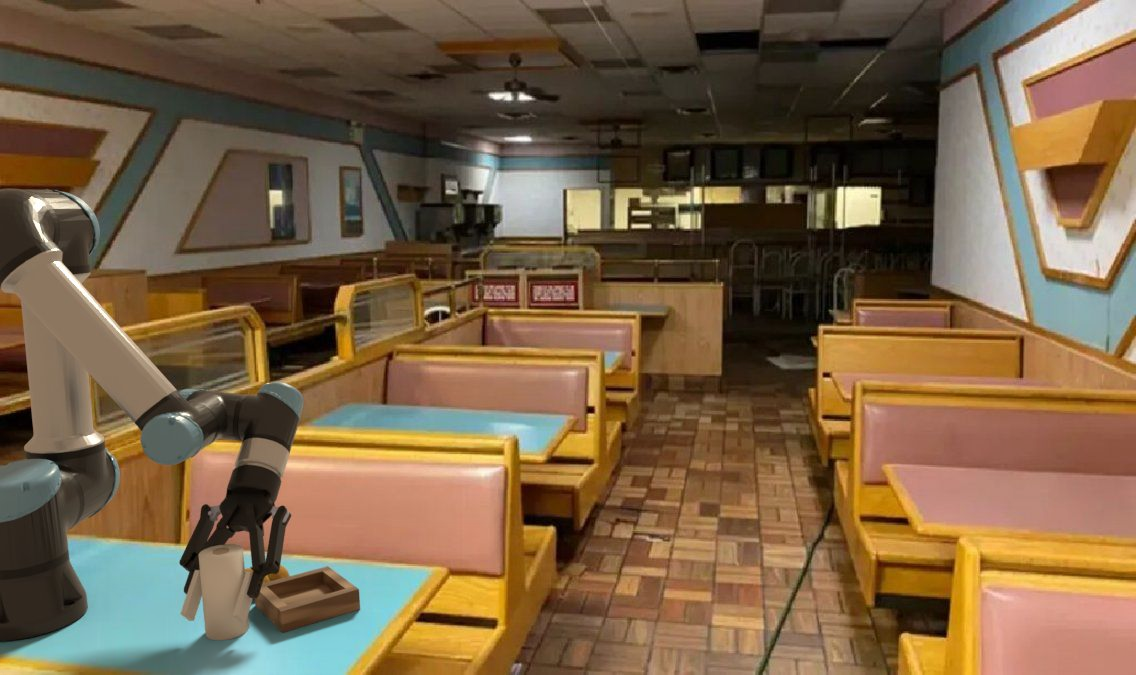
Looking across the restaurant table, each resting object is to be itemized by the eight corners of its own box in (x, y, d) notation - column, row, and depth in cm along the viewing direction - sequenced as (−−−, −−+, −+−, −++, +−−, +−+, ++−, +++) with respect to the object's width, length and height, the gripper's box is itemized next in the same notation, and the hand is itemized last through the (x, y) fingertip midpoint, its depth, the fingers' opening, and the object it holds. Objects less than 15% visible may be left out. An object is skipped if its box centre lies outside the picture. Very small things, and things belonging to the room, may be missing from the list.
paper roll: (200, 629, 136) (193, 549, 134) (241, 617, 139) (235, 539, 137) (212, 644, 131) (205, 561, 129) (255, 631, 134) (248, 551, 133)
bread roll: (299, 586, 151) (297, 563, 150) (248, 605, 144) (245, 580, 144) (273, 574, 156) (271, 551, 156) (222, 591, 150) (220, 567, 149)
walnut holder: (255, 605, 143) (253, 585, 143) (329, 584, 150) (327, 566, 150) (282, 632, 134) (280, 611, 133) (360, 609, 141) (358, 589, 140)
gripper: (327, 486, 146) (289, 630, 133) (208, 484, 149) (159, 625, 136) (310, 462, 140) (270, 610, 127) (187, 461, 143) (134, 606, 130)
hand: (213, 618), depth 131 cm, fingers open, 7 cm apart
